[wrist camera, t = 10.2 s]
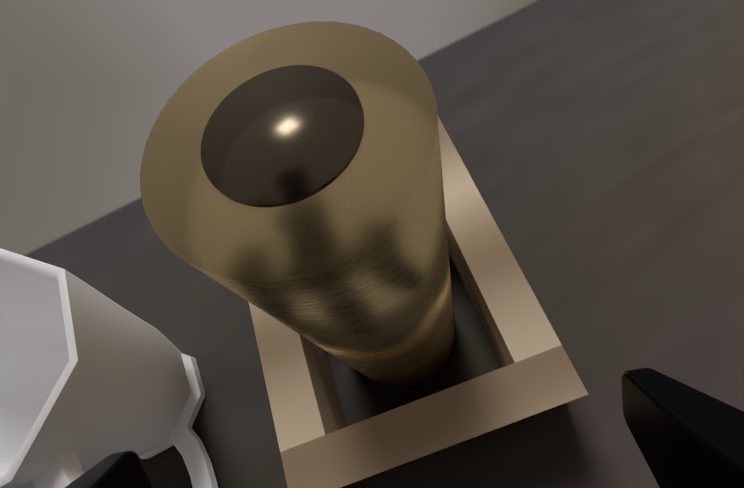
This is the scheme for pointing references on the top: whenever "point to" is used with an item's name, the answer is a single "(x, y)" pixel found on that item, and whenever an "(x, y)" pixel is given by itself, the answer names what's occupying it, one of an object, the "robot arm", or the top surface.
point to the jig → (442, 409)
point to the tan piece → (314, 192)
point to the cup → (86, 382)
